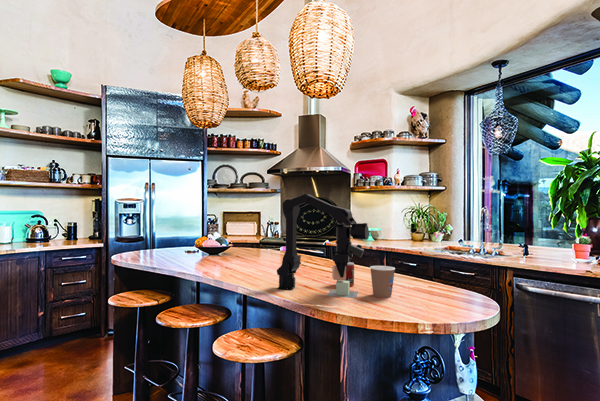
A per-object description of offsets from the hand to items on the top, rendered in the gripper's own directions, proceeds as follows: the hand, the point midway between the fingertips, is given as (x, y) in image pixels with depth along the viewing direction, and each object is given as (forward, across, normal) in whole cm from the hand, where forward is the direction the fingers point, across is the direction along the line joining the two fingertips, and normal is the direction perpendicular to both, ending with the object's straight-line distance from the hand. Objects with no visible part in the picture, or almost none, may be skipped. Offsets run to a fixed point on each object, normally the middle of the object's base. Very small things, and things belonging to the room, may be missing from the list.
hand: (342, 276), depth 153 cm
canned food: (+8, +18, +1) cm, 20 cm away
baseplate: (+8, 0, 0) cm, 8 cm away
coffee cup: (+8, +2, -16) cm, 18 cm away
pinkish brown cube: (+1, 0, +2) cm, 2 cm away
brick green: (+7, 0, 0) cm, 7 cm away
